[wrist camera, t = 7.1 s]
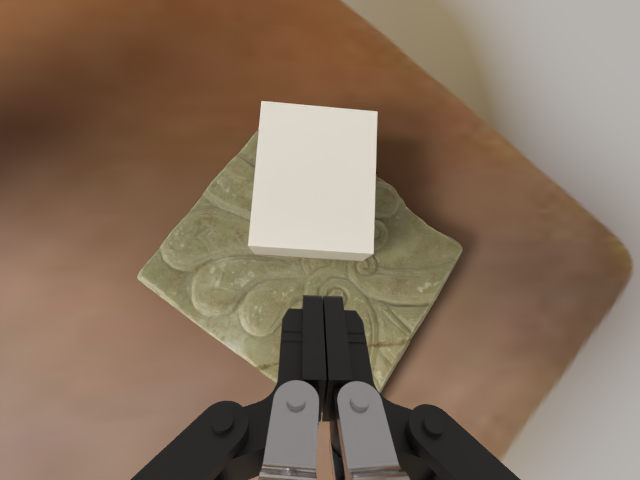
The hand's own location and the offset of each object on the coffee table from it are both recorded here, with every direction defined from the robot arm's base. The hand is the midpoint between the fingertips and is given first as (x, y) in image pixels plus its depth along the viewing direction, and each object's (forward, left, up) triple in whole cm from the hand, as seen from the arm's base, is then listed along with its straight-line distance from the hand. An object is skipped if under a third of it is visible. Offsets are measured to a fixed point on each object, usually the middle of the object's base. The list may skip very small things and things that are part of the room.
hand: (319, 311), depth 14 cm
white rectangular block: (0, +4, -10) cm, 11 cm away
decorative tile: (0, +4, -16) cm, 17 cm away
